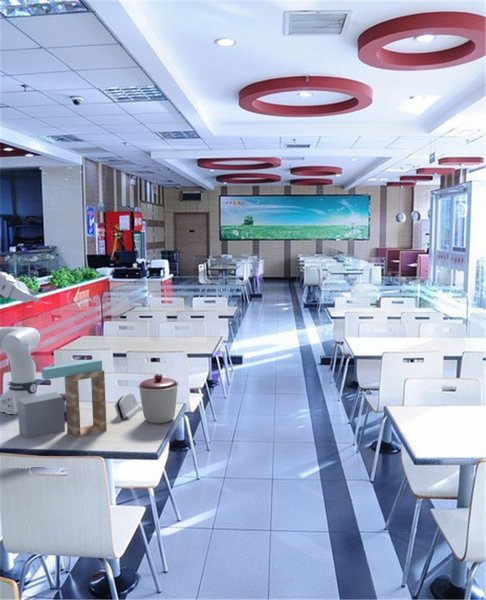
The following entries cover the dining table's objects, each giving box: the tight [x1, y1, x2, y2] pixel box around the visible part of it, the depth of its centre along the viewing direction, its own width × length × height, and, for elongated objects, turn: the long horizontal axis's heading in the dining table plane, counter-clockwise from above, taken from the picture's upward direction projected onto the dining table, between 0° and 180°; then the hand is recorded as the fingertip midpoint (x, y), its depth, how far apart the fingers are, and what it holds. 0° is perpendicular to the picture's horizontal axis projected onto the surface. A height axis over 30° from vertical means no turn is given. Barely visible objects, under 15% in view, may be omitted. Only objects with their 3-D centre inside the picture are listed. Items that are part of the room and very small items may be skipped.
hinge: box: [114, 393, 143, 421], centre depth 256 cm, size 17×5×10 cm, turn 169°
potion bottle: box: [59, 393, 67, 422], centre depth 248 cm, size 9×9×12 cm
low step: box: [17, 391, 66, 441], centre depth 232 cm, size 16×9×15 cm, turn 130°
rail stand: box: [64, 369, 108, 439], centre depth 232 cm, size 14×8×26 cm, turn 130°
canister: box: [137, 373, 180, 425], centre depth 246 cm, size 18×18×21 cm
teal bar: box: [41, 358, 103, 381], centre depth 227 cm, size 24×4×4 cm, turn 130°
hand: (36, 297), depth 237 cm, fingers open, 8 cm apart
